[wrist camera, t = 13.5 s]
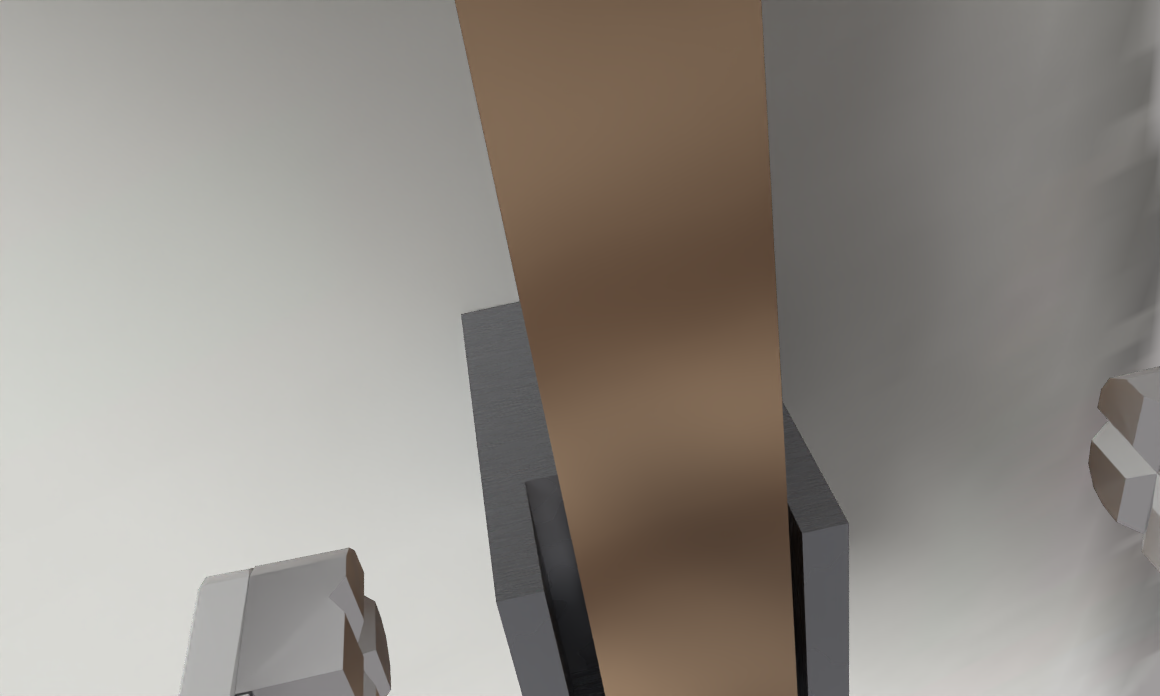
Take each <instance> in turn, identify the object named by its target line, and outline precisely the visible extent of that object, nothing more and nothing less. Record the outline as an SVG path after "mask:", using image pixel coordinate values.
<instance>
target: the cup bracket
mask: <svg viewBox="0 0 1160 696" xmlns="http://www.w3.org/2000/svg"><path fill="white" fill-rule="evenodd" d="M461 317H462V325H463V333H464V341H465V350H466V358H467V366H468V374H469V382H470V391H471V399H472V407H473V415H474V423H475V432H476V440H477V448H478V456H479V464H480V473H481V481H482V489H483V497H484V505H485V514H486V522H487V530H488V538H489V546H490V555H491V563H492V571H493V579H494V587H495V596H496V603H497V606H498V610H499V614H500V617H501V621H502V624H503V628H504V631H505V635H506V638H507V642H508V646H509V649H510V653H511V656H512V660H513V663H514V667H515V671H516V674H517V678H518V681H519V685H520V688H521V692H522V695H523V696H605V692H604V687H603V682H602V678H601V673H600V668H599V664H598V659H597V655H596V650H595V645H594V641H593V636H592V632H591V627H590V622H589V618H588V613H587V608H586V604H585V599H584V595H583V590H582V585H581V581H580V576H579V571H578V567H577V562H576V558H575V553H574V548H573V544H572V539H571V535H570V530H569V525H568V521H567V516H566V511H565V507H564V502H563V498H562V493H561V488H560V484H559V479H558V475H557V470H556V465H555V461H554V456H553V451H552V447H551V442H550V438H549V433H548V428H547V424H546V419H545V414H544V410H543V405H542V401H541V396H540V391H539V387H538V382H537V378H536V373H535V368H534V364H533V359H532V354H531V350H530V345H529V341H528V336H527V331H526V327H525V322H524V317H523V313H522V308H521V304H520V302H517V303H512V304H507V305H503V306H498V307H493V308H488V309H484V310H479V311H474V312H469V313H465V314H461ZM782 408H783V427H784V446H785V465H786V484H787V503H788V522H789V542H790V561H791V580H792V599H793V618H794V637H795V657H796V676H797V695H798V696H849V523H848V521H847V519H846V518H845V516H844V514H843V512H842V510H841V508H840V507H839V505H838V503H837V501H836V499H835V497H834V495H833V494H832V492H831V490H830V488H829V486H828V484H827V483H826V481H825V479H824V477H823V475H822V473H821V472H820V470H819V468H818V466H817V464H816V462H815V460H814V459H813V457H812V455H811V453H810V451H809V449H808V448H807V446H806V444H805V442H804V440H803V438H802V437H801V435H800V433H799V431H798V429H797V427H796V425H795V424H794V422H793V420H792V418H791V416H790V414H789V413H788V411H787V409H786V407H785V405H784V403H783V402H782Z"/></svg>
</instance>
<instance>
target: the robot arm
mask: <svg viewBox="0 0 1160 696" xmlns="http://www.w3.org/2000/svg"><path fill="white" fill-rule="evenodd" d="M1098 409H1099V410H1100V412H1101V413H1102V414H1103V415H1104V416H1105V417H1106V419H1107V420H1108V421H1107V422H1106V424H1105V425H1104V426H1103V427H1102V428H1101V429H1100V430H1099V432H1098V433H1097V434H1096V435H1095V436H1094V437H1093V439H1092V440H1091V447H1090V455H1089V462H1088V464H1089V469H1090V473H1091V478H1092V482H1093V487H1094V489H1095V491H1096V493H1097V495H1098V497H1099V499H1100V500H1101V502H1102V504H1103V506H1104V507H1105V508H1106V510H1107V511H1108V512H1109V513H1110V514H1111V516H1112V517H1113V518H1114V519H1115V521H1116V522H1118V523H1120V524H1122V525H1124V526H1127V527H1129V528H1131V529H1133V530H1136V531H1138V532H1140V533H1142V534H1143V543H1142V553H1143V554H1144V555H1145V556H1146V557H1147V559H1148V560H1149V561H1150V562H1151V563H1152V564H1153V566H1154V567H1155V568H1156V569H1157V570H1158V571H1159V573H1160V366H1159V367H1155V368H1150V369H1146V370H1142V371H1137V372H1133V373H1129V374H1124V375H1120V376H1116V377H1112V378H1109V379H1108V381H1107V382H1106V384H1105V385H1104V386H1103V388H1102V389H1101V393H1100V398H1099V403H1098ZM390 690H391V676H390V661H389V654H388V647H387V640H386V635H385V632H384V628H383V624H382V620H381V617H380V614H379V611H378V608H377V606H376V603H375V601H373V600H371V599H370V598H368V597H366V596H364V572H363V569H362V567H361V564H360V562H359V560H358V557H357V555H356V553H355V550H353V549H351V548H345V549H340V550H335V551H330V552H325V553H320V554H315V555H310V556H305V557H300V558H295V559H290V560H285V561H280V562H275V563H270V564H265V565H259V566H255V567H254V568H251V569H246V570H240V571H235V572H230V573H225V574H219V575H214V576H209V577H206V578H205V580H204V581H203V583H202V584H201V586H200V588H199V589H198V593H197V598H196V604H195V609H194V614H193V620H192V625H191V631H190V636H189V642H188V647H187V653H186V658H185V664H184V669H183V675H182V680H181V685H180V691H179V696H387V695H388V693H389V692H390Z"/></svg>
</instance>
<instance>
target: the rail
mask: <svg viewBox="0 0 1160 696" xmlns="http://www.w3.org/2000/svg"><path fill="white" fill-rule="evenodd" d="M455 3H456V8H457V13H458V17H459V22H460V27H461V31H462V36H463V40H464V45H465V50H466V54H467V59H468V63H469V68H470V73H471V77H472V82H473V87H474V91H475V96H476V100H477V105H478V110H479V114H480V119H481V124H482V128H483V133H484V137H485V142H486V147H487V151H488V156H489V160H490V165H491V170H492V174H493V179H494V184H495V188H496V193H497V197H498V202H499V207H500V211H501V216H502V221H503V225H504V230H505V234H506V239H507V244H508V248H509V253H510V257H511V262H512V267H513V271H514V276H515V281H516V285H517V290H518V294H519V299H520V304H521V308H522V313H523V317H524V322H525V327H526V331H527V336H528V341H529V345H530V350H531V354H532V359H533V364H534V368H535V373H536V378H537V382H538V387H539V391H540V396H541V401H542V405H543V410H544V414H545V419H546V424H547V428H548V433H549V438H550V442H551V447H552V451H553V456H554V461H555V465H556V470H557V475H558V479H559V484H560V488H561V493H562V498H563V502H564V507H565V511H566V516H567V521H568V525H569V530H570V535H571V539H572V544H573V548H574V553H575V558H576V562H577V567H578V571H579V576H580V581H581V585H582V590H583V595H584V599H585V604H586V608H587V613H588V618H589V622H590V627H591V632H592V636H593V641H594V645H595V650H596V655H597V659H598V664H599V668H600V673H601V678H602V682H603V687H604V692H605V696H798V695H797V676H796V657H795V637H794V618H793V599H792V580H791V561H790V542H789V522H788V503H787V484H786V465H785V446H784V427H783V408H782V388H781V369H780V350H779V331H778V312H777V293H776V274H775V254H774V235H773V216H772V197H771V178H770V159H769V140H768V120H767V101H766V82H765V63H764V44H763V25H762V6H761V0H455Z"/></svg>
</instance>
